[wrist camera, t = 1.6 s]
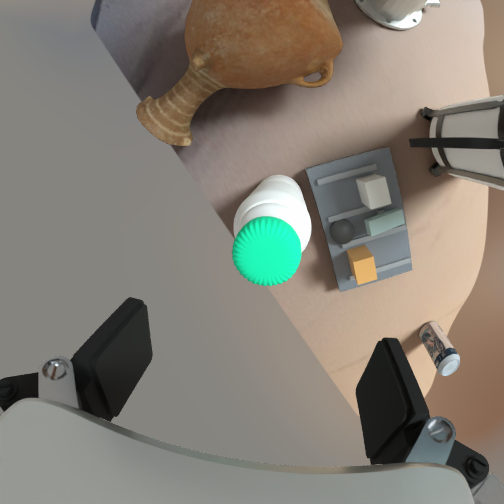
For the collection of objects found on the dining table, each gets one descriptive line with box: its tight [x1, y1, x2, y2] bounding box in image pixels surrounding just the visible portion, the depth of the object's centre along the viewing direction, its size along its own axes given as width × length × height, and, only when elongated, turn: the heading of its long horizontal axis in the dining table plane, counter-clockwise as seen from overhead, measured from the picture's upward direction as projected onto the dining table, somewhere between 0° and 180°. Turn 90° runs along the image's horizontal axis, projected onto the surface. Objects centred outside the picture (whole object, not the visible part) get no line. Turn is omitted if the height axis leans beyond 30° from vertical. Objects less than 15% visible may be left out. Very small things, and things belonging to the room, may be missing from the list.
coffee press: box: [409, 95, 504, 190], centre depth 20 cm, size 17×16×30 cm
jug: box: [136, 0, 343, 146], centre depth 27 cm, size 20×19×30 cm
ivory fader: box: [356, 174, 391, 209], centre depth 34 cm, size 3×4×5 cm
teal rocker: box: [364, 208, 405, 236], centre depth 36 cm, size 6×2×1 cm, turn 109°
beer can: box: [419, 322, 460, 376], centre depth 40 cm, size 5×5×12 cm
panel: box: [305, 147, 412, 292], centre depth 39 cm, size 13×20×4 cm, turn 20°
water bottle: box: [232, 175, 311, 286], centre depth 30 cm, size 7×7×25 cm
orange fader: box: [347, 245, 377, 285], centre depth 38 cm, size 3×4×5 cm
